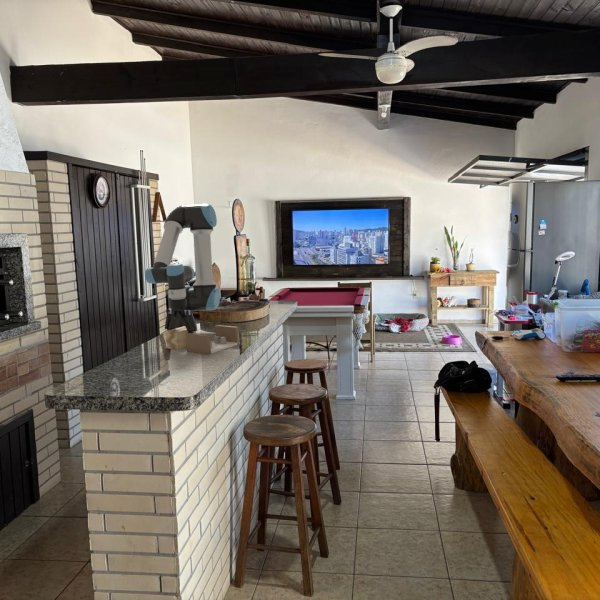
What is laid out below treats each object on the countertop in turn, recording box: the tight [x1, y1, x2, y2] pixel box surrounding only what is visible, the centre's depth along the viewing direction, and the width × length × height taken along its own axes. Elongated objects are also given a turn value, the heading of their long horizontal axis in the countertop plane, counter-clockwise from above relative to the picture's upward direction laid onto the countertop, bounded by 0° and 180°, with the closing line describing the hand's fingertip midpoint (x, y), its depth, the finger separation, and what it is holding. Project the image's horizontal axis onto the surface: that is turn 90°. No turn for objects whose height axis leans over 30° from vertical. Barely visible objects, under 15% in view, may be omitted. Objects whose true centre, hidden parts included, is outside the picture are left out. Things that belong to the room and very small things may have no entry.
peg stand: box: [186, 324, 240, 355], centre depth 252 cm, size 13×20×8 cm, turn 145°
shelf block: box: [164, 326, 197, 351], centre depth 260 cm, size 7×12×8 cm, turn 145°
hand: (181, 345), depth 260 cm, fingers open, 11 cm apart
